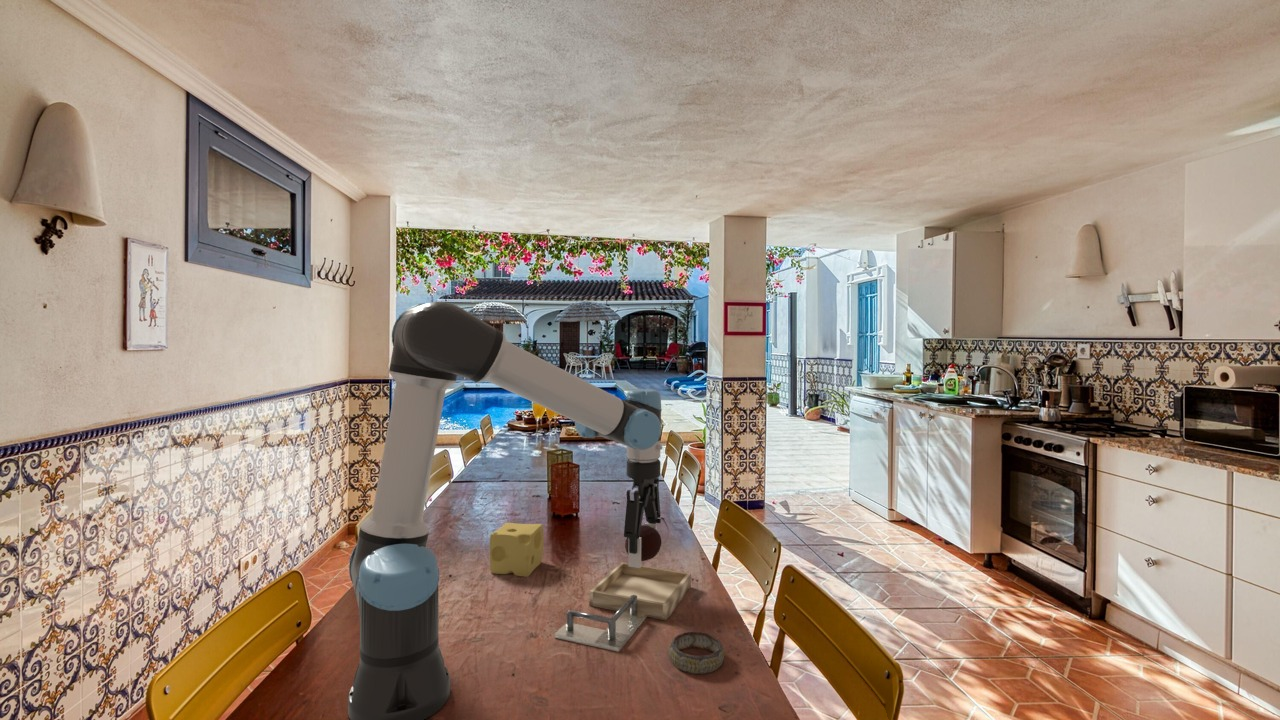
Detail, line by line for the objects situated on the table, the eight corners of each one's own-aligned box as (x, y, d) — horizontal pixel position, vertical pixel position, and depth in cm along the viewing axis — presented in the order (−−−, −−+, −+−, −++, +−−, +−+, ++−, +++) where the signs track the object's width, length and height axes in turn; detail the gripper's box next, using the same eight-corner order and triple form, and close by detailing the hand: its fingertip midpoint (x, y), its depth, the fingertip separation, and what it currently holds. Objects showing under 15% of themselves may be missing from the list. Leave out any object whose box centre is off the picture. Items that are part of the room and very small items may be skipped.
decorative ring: (736, 664, 107) (698, 640, 115) (736, 646, 106) (699, 624, 114) (693, 683, 100) (657, 657, 109) (694, 664, 100) (657, 640, 108)
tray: (666, 620, 122) (666, 605, 122) (589, 605, 128) (589, 591, 128) (690, 586, 138) (691, 573, 138) (621, 575, 145) (621, 562, 145)
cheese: (528, 578, 143) (528, 537, 142) (487, 574, 145) (487, 533, 144) (544, 561, 153) (544, 523, 152) (505, 558, 155) (505, 520, 155)
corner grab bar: (618, 651, 110) (618, 627, 110) (554, 637, 115) (554, 613, 114) (649, 614, 125) (649, 592, 124) (591, 602, 130) (591, 581, 129)
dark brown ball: (669, 558, 134) (670, 524, 133) (643, 571, 126) (643, 535, 126) (642, 549, 139) (642, 517, 138) (615, 561, 132) (615, 527, 131)
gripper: (641, 471, 120) (640, 580, 121) (675, 451, 140) (674, 545, 141) (607, 467, 123) (607, 574, 124) (645, 448, 143) (644, 540, 144)
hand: (642, 558), depth 132 cm, fingers closed on dark brown ball, 9 cm apart
